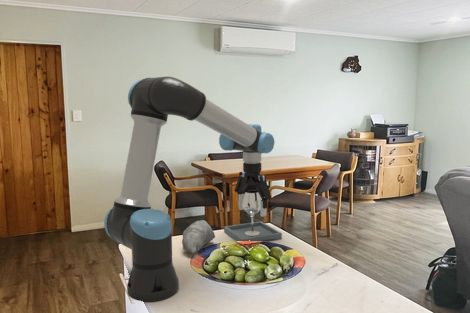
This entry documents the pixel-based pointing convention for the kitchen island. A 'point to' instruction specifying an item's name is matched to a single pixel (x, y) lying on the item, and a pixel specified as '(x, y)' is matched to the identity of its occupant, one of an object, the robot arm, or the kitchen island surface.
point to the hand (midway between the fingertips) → (252, 212)
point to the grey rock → (197, 236)
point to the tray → (265, 231)
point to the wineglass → (251, 207)
